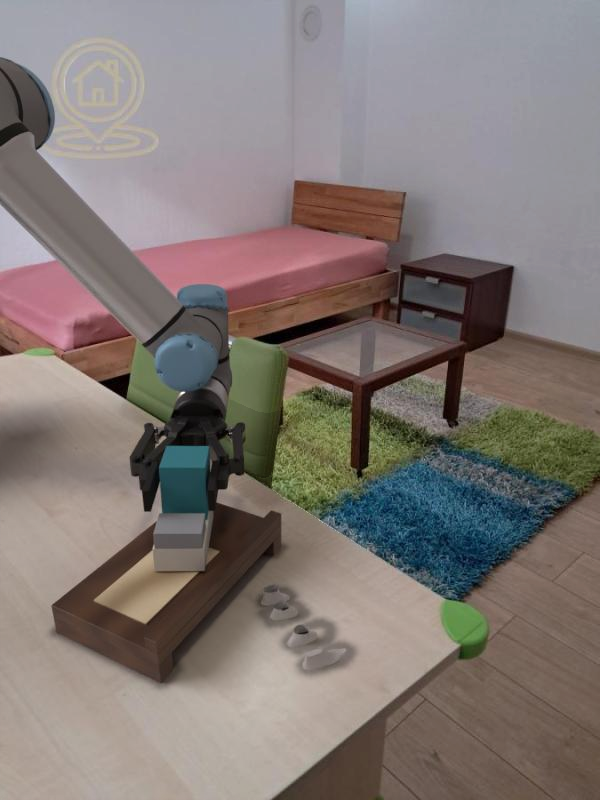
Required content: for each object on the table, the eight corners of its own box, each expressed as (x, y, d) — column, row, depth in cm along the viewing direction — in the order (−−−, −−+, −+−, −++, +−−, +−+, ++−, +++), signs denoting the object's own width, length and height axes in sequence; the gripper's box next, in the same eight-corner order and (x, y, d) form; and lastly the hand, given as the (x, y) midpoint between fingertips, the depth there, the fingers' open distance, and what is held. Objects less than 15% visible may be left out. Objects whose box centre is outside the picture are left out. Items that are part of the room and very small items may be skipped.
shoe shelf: (57, 637, 67) (48, 593, 65) (192, 521, 87) (189, 484, 84) (161, 689, 62) (156, 643, 59) (281, 552, 81) (281, 513, 78)
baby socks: (254, 606, 72) (254, 588, 71) (296, 591, 74) (296, 573, 73) (306, 682, 62) (306, 663, 61) (352, 662, 65) (353, 643, 64)
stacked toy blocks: (168, 516, 80) (164, 445, 76) (213, 516, 80) (211, 445, 76) (154, 571, 70) (148, 493, 66) (205, 571, 70) (202, 493, 66)
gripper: (268, 433, 93) (266, 527, 72) (134, 435, 92) (94, 530, 71) (267, 387, 90) (266, 470, 69) (129, 387, 89) (85, 472, 68)
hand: (179, 500), depth 70 cm, fingers open, 6 cm apart
